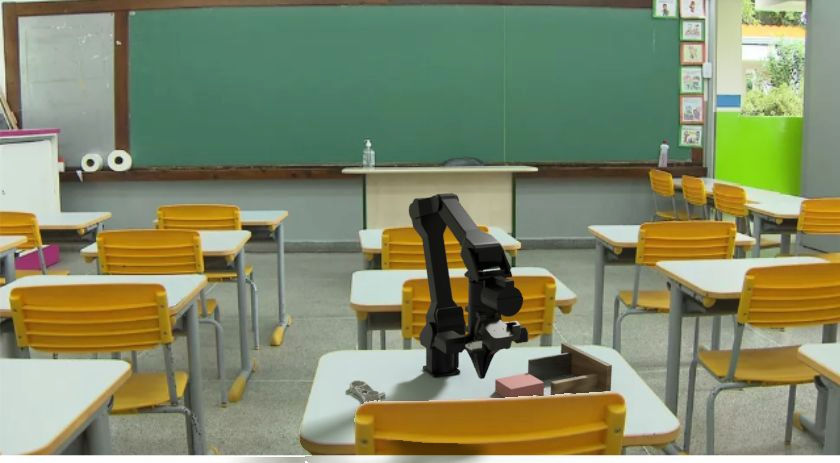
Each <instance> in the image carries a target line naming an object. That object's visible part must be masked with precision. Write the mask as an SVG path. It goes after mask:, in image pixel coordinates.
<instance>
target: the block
mask: <svg viewBox="0 0 840 463" xmlns="http://www.w3.org/2000/svg"><path fill="white" fill-rule="evenodd" d="M494 383H495V384H494V391H495V393H497V394H498V395H500V396H501V397H503V398H505V397H518V396H533V395H540V396H545V395H544V394H545V393H544V392H545V382H543V380H539V379H537V378H535V377H534V376H532V375H530V374H528V372H527V373H522V374H515V375H510V376H506V377H500V378H495V380H494Z"/></svg>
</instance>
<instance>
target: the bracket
mask: <svg viewBox="0 0 840 463" xmlns="http://www.w3.org/2000/svg"><path fill="white" fill-rule="evenodd" d="M349 392H350V393H351V394H352V393H353V394H354V395H357V396H358V397H359V398H360V399H361V401H362V402H366V401H368V402H369V401H374V400H381V401H382V400H385V399H386V393H385V392H384V391H382V392H379V391H377V390H374V389H373V388H372V387H371V386H370V385H369V384H368V383H367V382H366V381H364V380H357V379H356V380H353V381H351V382H350V383H349ZM365 392H366V393H365Z"/></svg>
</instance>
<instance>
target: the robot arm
mask: <svg viewBox="0 0 840 463" xmlns="http://www.w3.org/2000/svg"><path fill="white" fill-rule="evenodd" d="M408 214H409V218H410V219H411V224H412V227H413V230H414V231H415V232H416V233H417V234H418V236H420V238H421V242H422V247H423V255H424V262H425V263H424V264H425V268H426V276H427V282H428V289H429V291H428V292H429V297H430V298H429V299H430V304H429V307H428V309H427V311H426V314H425V325H424V326H423V328H422V329H421V331H420V333H419V336H418V337H419V343H420V345H421V346H422V347H423V348H425V365H423V366H422V369H423V370H424V371H426V372H427V373H428V374H430V375H431V376H432V377H434V378H440V377H445V376H451V375H457V374H458V375H459V374H461V370H460V369H458V368H459V367H460V365H459V364H460V354H461V353H463V351H464V350H465V351H466V352H467V354H468V356H469V359H470V360H471V362H472V365H473V368H474V369H475V372H476V375H477V377H478V378H479V379H480V380H483V379H485V378H486V376H487V374H488V371H489V368H490V365H491V363H492V360H493V358H494V357H495V355H496V354H497V353H498V352H499V351H502V350H509V349H511V346H512V343H513V342H514V343H515V344H523V343H528V342H529V336H530V333H529V331H528V329H527V327H526V326H524V325H521V324H520V323H519V321H517V320H513V321H509V322H508V321H503V319H502V317H503V316H504V317H510V318H511V317H513V316H515V315H517V314H518V313H519V312H520V311H521V309H522V308H523V304H524V297H523V294H522V292H521V290H520V289H519V288H518V287H516V286H515V281H514V280H513V279H510V278H512V277H513V273H512V267H511V264H510V262H509V260H508V258H507V256H506V252H505V249H504V247H503V246H502V243H501V242H500V241H499V240H497V239H496V238H495V237H494V236H493V235H492V234H490V233H488V232H486V231H483V230H481V229H480V228H479V227H478V225H477V224H476V223H475V221H474V219H473V218H472V217H471V215H469V213H468V212H467V210H466V209H465V208H464V206H463V205H462V203H461V202H460V198H459V196H458V195H457V194H456V193H453V192H448V193H436V194H434V195H431V196H430V197H417V198H414V199H413V200H412V202H411V203H410V204H409V206H408ZM447 228H448V229H449V230H450V232H451V233H452V235H453V236H454V238H455V239H456V241H457V242H458V244H459V246H460V247H461V248H460V253H459V256H460V258H461V260H462V262H463V265H464V266H465V268H466V270H467V271H466V272H465V273H464V274H463V275H464V277H465V278H467V279H468V289H467V290H468V293H467V294H468V295H467V297H468V300H467V303H468V304H467V305H464V308H463V306H461V305H458V304H457V303H456V301H455V300H454V299H453V293H452V292H453V290H452V284H451V278H450V272H449V266H448V265H449V264H448V263H449V262H448V256H447V251H446V243H445V236H444V235H445V232H446V229H447ZM464 311H465V312H467V323H466V321H465V320H466V319H465V316H464V313H465V312H464Z"/></svg>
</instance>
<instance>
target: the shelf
mask: <svg viewBox="0 0 840 463" xmlns="http://www.w3.org/2000/svg"><path fill="white" fill-rule="evenodd" d="M560 344H561V345H560V353H559V354H554V355H553V354H552V355H547V356H541V357H536V358H530V359H528V360H527V363H528V364H527V373H528V374H530V375H532V376H534V377H535V378H537V379H539V380H540V381H544V380H549V379H555V378H561V377H565V376H573V377H570V378H568V377H567V378H564V379H559V380H558V379H557V380H553V381H550V395H555V394H564V393H575V394H579V392H580V393H583V392H585V393H586V392H590V391H593V390H598V391H600V392H602V391H611V392H612V374H613V373H612V371H613V365H612V364H610V363H608V362H606V361H604V360H602V359H600V358H599V357H596V356H594V355H592V354H590V353H588V352H585V351H584V350H582V349H580V348H577V347H576V346H574V345H571V344H570V343H568V342H561V343H560Z"/></svg>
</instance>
